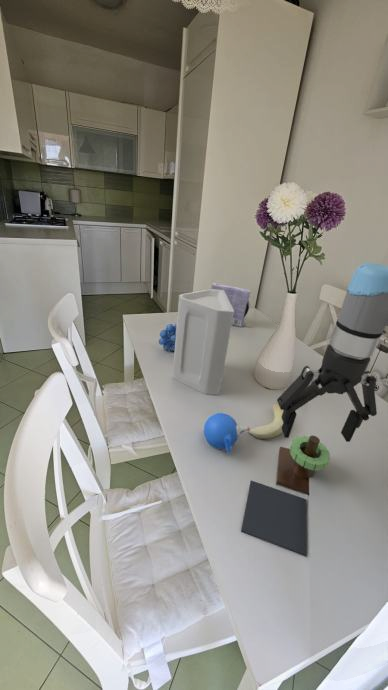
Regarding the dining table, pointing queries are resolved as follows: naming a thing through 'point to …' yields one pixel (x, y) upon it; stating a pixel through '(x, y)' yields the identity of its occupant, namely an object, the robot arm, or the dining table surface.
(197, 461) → the dining table surface
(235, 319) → the purple towel
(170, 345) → the grapes
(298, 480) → the stand
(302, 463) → the ring
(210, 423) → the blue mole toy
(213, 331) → the white prism box
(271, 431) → the fruit
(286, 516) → the mat
